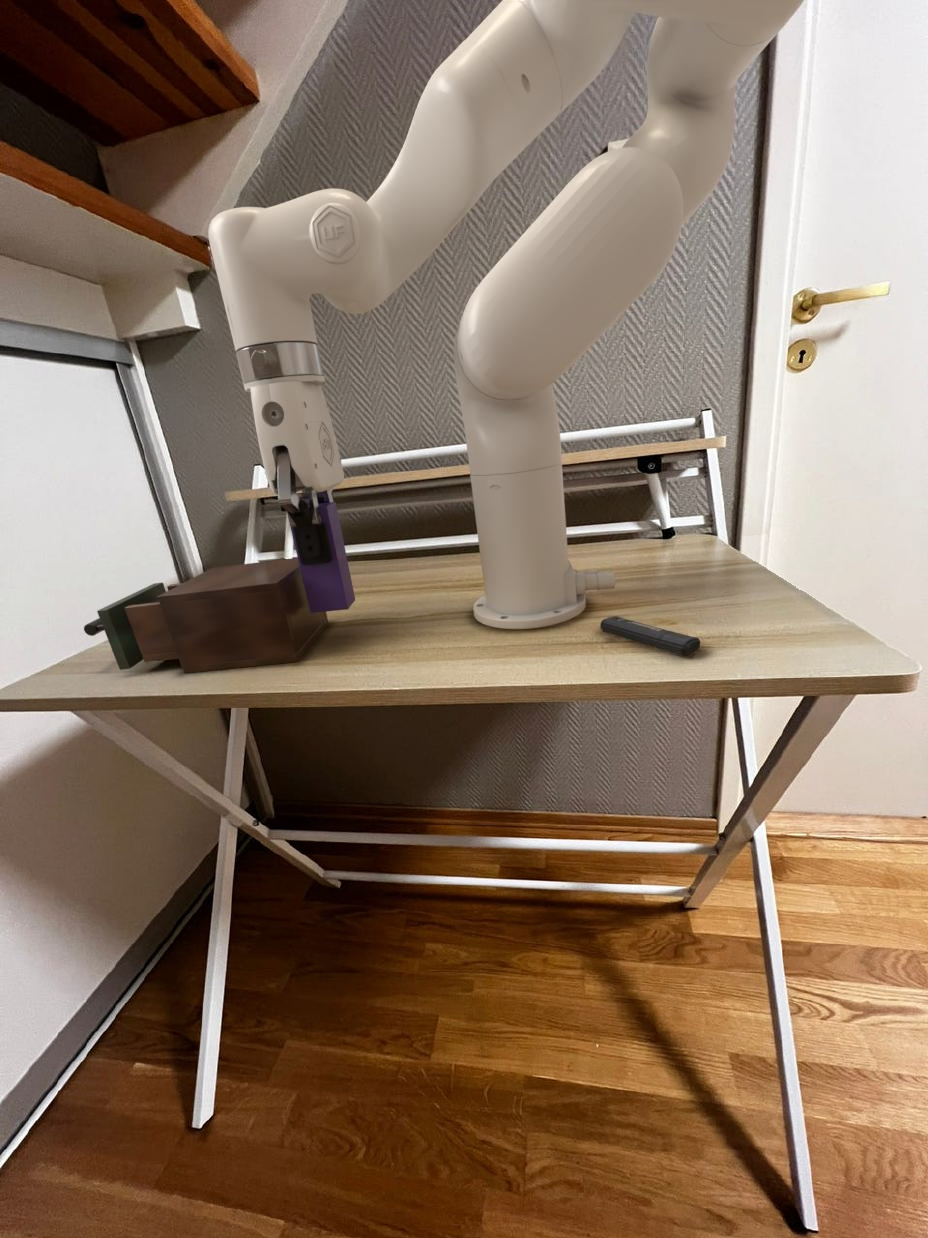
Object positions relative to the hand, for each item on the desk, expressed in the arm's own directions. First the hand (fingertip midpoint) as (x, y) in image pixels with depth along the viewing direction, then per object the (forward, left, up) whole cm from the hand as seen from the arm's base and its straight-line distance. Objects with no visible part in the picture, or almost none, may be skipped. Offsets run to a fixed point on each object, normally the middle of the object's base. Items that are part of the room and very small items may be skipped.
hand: (322, 557), depth 57 cm
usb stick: (-31, +9, -10) cm, 34 cm away
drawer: (+19, 0, -9) cm, 21 cm away
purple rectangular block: (0, 0, -6) cm, 6 cm away
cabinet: (+9, 0, -9) cm, 13 cm away
